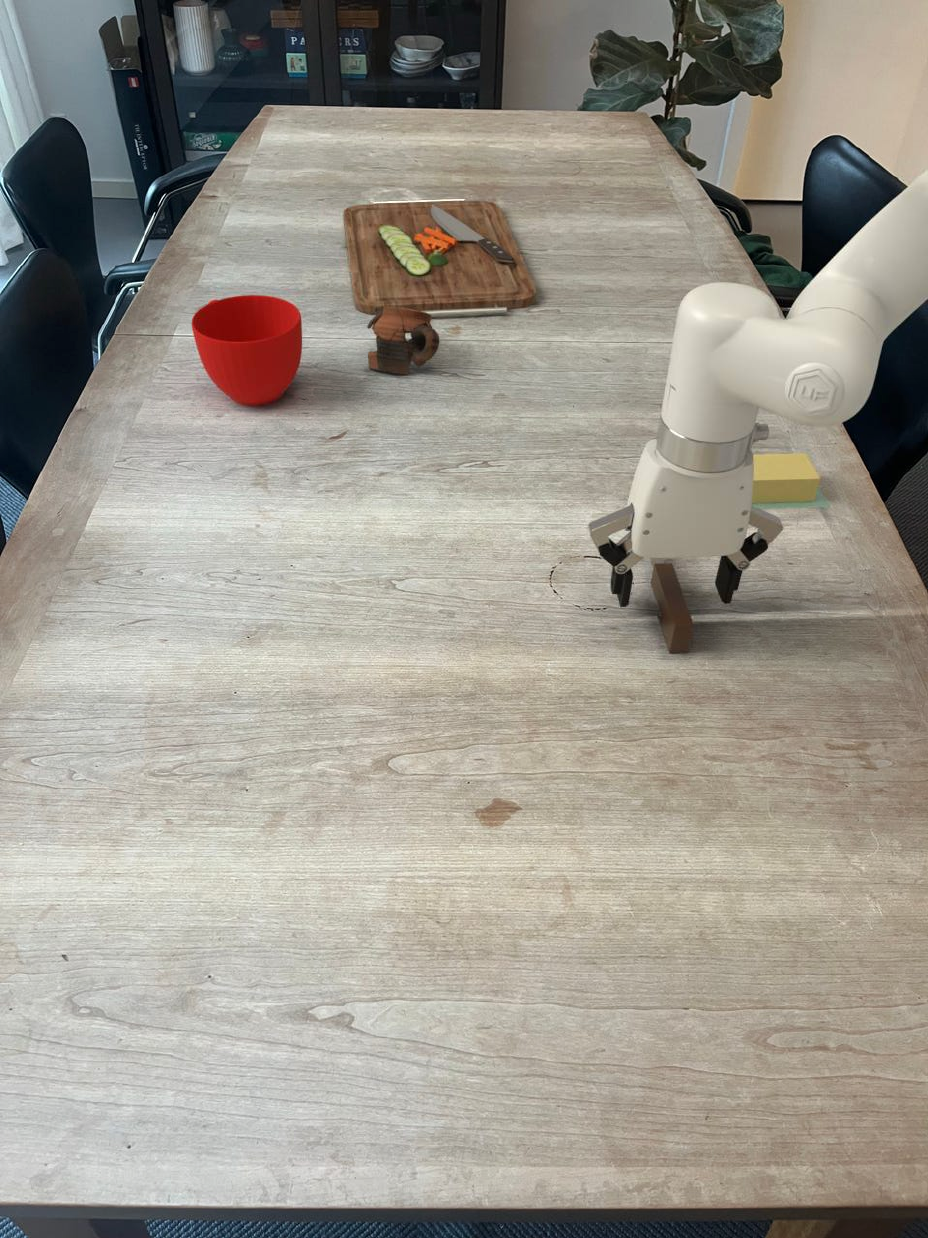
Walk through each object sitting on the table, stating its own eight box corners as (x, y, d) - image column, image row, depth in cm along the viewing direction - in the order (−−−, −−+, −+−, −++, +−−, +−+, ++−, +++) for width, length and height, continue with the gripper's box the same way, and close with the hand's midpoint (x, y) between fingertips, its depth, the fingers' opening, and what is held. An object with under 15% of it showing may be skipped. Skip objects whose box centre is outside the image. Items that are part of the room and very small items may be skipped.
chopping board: (342, 207, 174) (340, 189, 172) (493, 202, 177) (494, 184, 175) (356, 322, 141) (355, 301, 139) (543, 313, 144) (544, 293, 142)
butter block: (799, 475, 112) (806, 452, 110) (814, 501, 108) (821, 478, 106) (729, 477, 112) (734, 454, 110) (741, 503, 108) (747, 480, 106)
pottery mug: (348, 367, 132) (355, 302, 131) (398, 375, 139) (405, 314, 138) (412, 374, 125) (420, 306, 123) (462, 382, 132) (470, 318, 130)
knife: (646, 528, 106) (651, 502, 104) (688, 652, 92) (694, 625, 90) (630, 529, 106) (634, 502, 104) (669, 653, 92) (674, 626, 89)
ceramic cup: (263, 347, 135) (254, 275, 129) (327, 398, 125) (321, 323, 118) (174, 373, 129) (159, 300, 123) (233, 430, 119) (221, 353, 113)
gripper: (792, 412, 86) (751, 568, 97) (592, 417, 85) (574, 573, 96) (820, 461, 80) (773, 619, 92) (607, 466, 79) (586, 625, 91)
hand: (671, 595), depth 94 cm, fingers open, 9 cm apart
